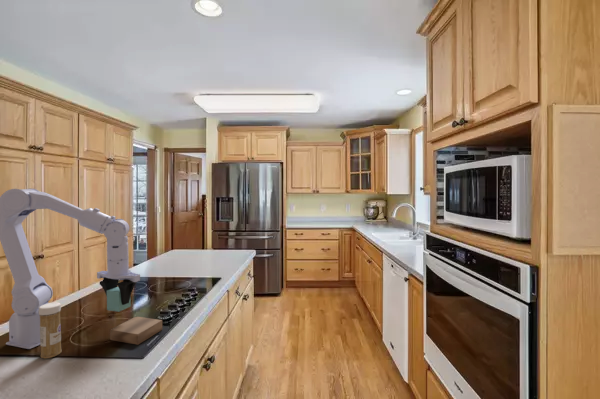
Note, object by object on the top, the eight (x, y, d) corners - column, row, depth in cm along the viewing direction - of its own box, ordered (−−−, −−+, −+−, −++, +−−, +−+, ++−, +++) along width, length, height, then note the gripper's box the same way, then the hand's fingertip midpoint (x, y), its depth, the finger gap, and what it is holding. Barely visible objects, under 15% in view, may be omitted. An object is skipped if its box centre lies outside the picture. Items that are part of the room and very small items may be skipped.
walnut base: (110, 339, 93) (109, 329, 93) (136, 325, 103) (136, 316, 103) (138, 344, 90) (137, 334, 90) (162, 329, 100) (162, 320, 100)
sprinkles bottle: (61, 356, 84) (59, 305, 84) (38, 361, 82) (37, 309, 81) (62, 348, 88) (61, 300, 88) (41, 353, 86) (39, 303, 85)
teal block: (107, 310, 97) (106, 290, 97) (119, 304, 101) (118, 286, 101) (119, 311, 96) (118, 292, 95) (130, 306, 100) (130, 287, 100)
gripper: (147, 257, 100) (147, 300, 100) (110, 254, 103) (111, 296, 104) (129, 263, 93) (130, 308, 93) (90, 259, 97) (91, 303, 97)
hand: (118, 302), depth 98 cm, fingers closed on teal block, 4 cm apart
